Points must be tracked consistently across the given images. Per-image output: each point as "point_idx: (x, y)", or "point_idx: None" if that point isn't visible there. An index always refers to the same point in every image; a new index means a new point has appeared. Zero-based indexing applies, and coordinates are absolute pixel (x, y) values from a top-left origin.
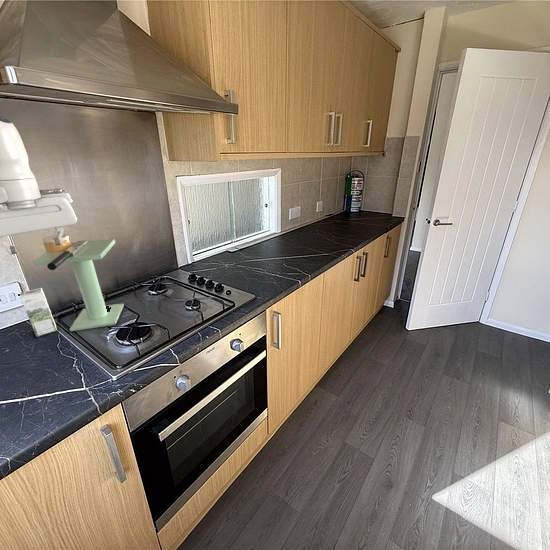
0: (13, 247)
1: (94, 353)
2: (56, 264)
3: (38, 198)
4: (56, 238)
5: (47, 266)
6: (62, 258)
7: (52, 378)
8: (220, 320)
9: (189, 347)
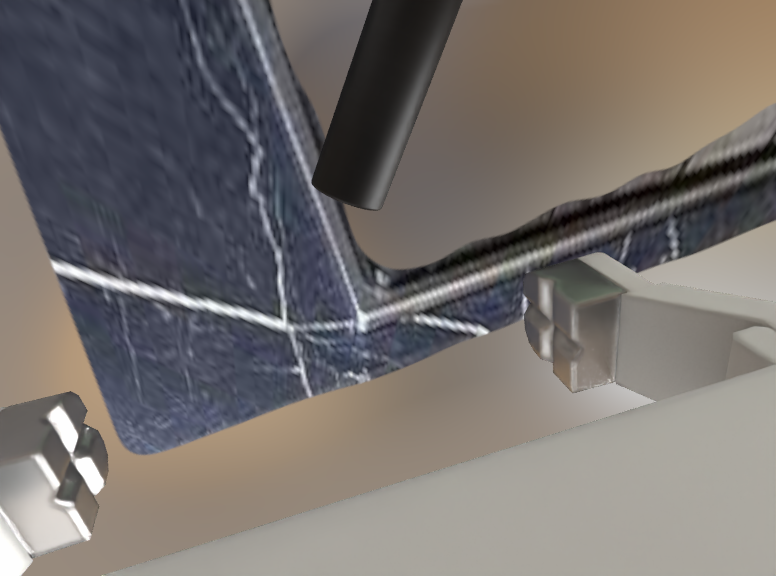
0: (77, 536)
1: None
2: (390, 185)
3: None
4: (601, 372)
5: (315, 187)
6: (458, 9)
7: (186, 224)
8: (713, 207)
9: None
